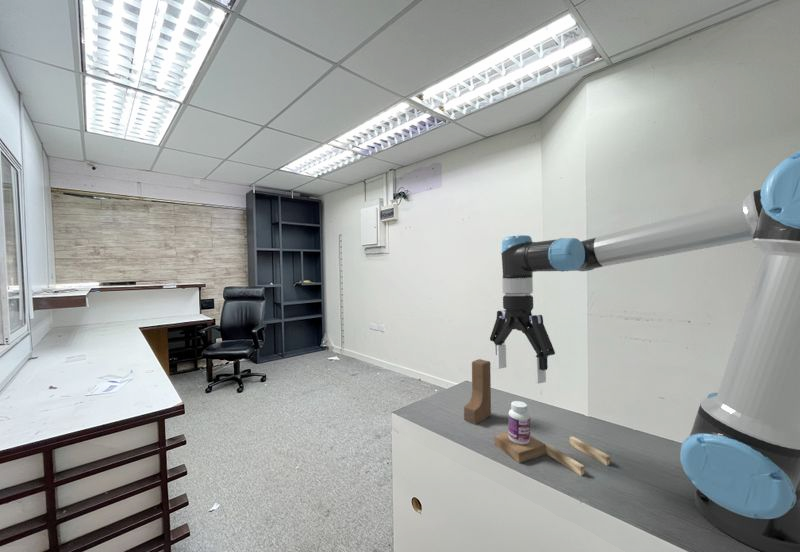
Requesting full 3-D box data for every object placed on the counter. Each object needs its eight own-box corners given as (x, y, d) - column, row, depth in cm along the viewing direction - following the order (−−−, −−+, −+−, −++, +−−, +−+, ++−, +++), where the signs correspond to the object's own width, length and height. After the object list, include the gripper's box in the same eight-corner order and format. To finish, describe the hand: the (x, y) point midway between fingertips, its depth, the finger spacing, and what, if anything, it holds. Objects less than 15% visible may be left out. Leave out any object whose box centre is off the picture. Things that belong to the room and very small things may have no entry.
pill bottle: (521, 447, 78) (521, 410, 78) (504, 438, 82) (504, 402, 82) (534, 441, 81) (534, 404, 81) (517, 432, 85) (516, 398, 85)
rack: (609, 464, 75) (609, 456, 75) (580, 475, 71) (580, 467, 71) (572, 443, 84) (572, 436, 84) (544, 452, 80) (544, 445, 80)
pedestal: (545, 454, 79) (545, 444, 79) (519, 463, 76) (519, 453, 76) (519, 437, 88) (519, 428, 88) (494, 444, 84) (494, 435, 84)
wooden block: (475, 425, 95) (474, 367, 95) (463, 419, 98) (462, 364, 98) (491, 415, 101) (490, 361, 101) (479, 411, 104) (479, 358, 104)
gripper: (570, 296, 71) (572, 387, 71) (496, 292, 94) (498, 361, 94) (546, 297, 68) (549, 392, 68) (476, 293, 91) (478, 364, 91)
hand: (519, 374), depth 81 cm, fingers open, 13 cm apart
